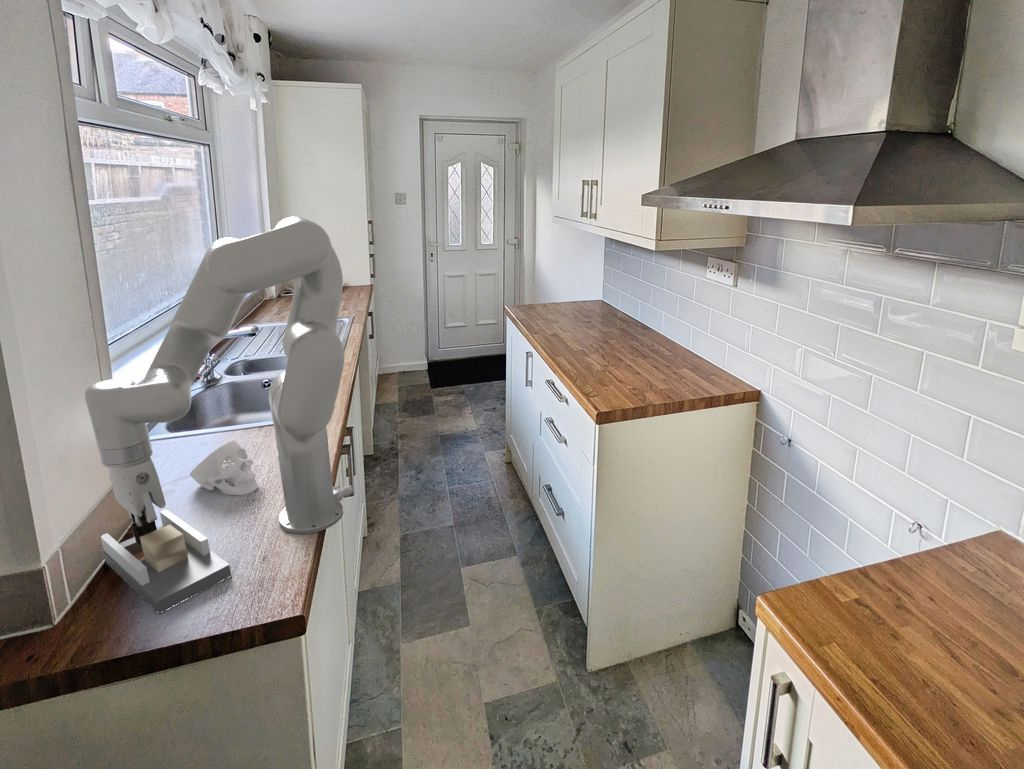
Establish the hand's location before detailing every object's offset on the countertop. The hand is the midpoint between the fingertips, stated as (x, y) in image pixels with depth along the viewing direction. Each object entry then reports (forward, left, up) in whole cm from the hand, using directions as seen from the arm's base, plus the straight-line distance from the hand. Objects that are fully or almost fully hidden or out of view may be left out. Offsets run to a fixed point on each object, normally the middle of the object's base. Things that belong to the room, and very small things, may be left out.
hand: (147, 540), depth 107 cm
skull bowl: (-22, -14, -4) cm, 27 cm away
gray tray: (0, +6, -4) cm, 7 cm away
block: (0, +7, -1) cm, 7 cm away
